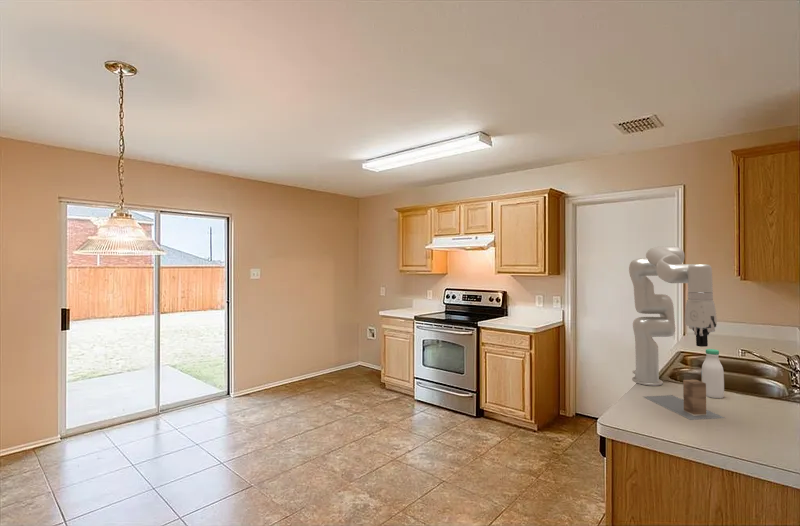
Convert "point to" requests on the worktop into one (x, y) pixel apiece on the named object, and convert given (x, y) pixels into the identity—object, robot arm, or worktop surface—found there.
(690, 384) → the walnut block
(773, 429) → the worktop surface
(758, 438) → the worktop surface
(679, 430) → the worktop surface
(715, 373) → the milk bottle
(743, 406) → the worktop surface
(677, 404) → the mat
